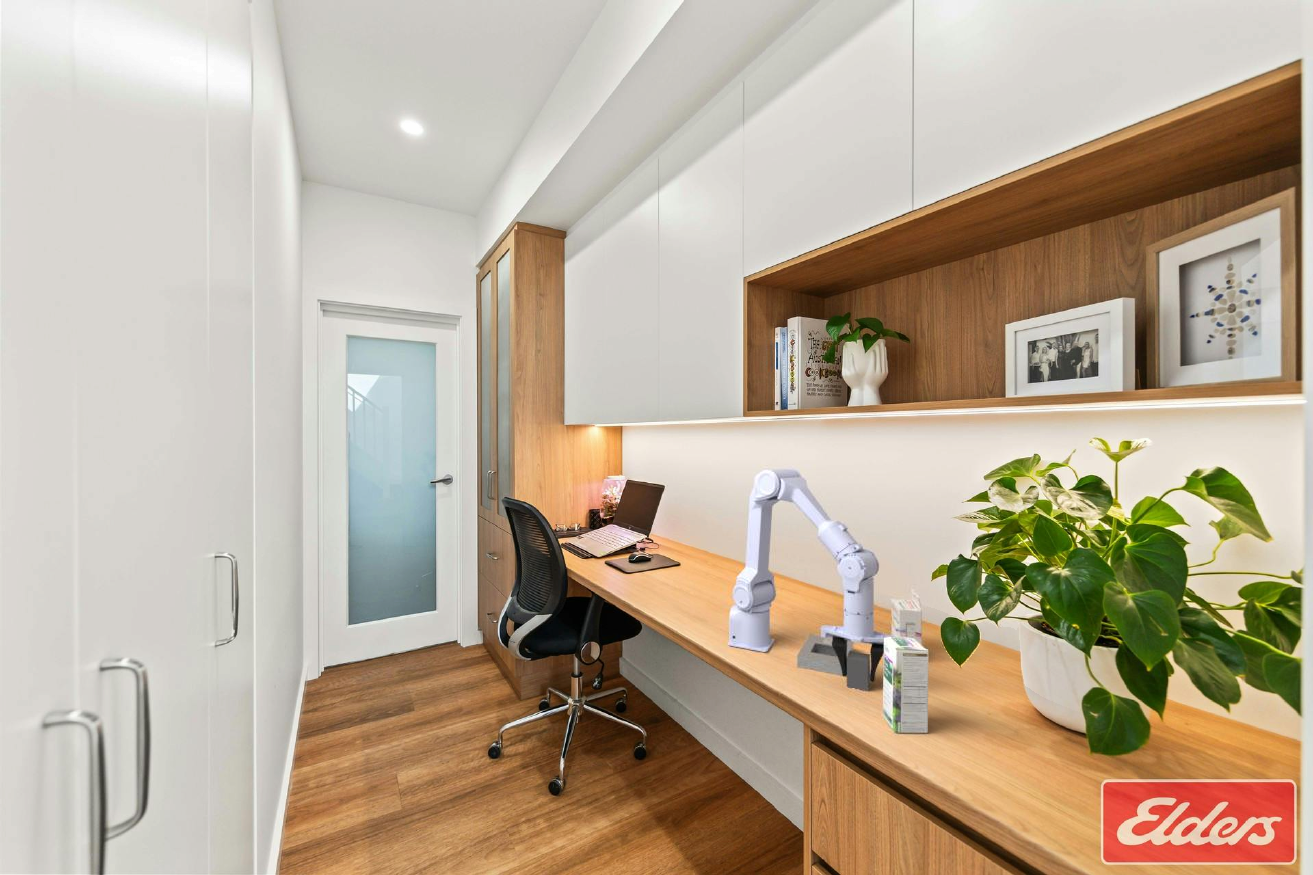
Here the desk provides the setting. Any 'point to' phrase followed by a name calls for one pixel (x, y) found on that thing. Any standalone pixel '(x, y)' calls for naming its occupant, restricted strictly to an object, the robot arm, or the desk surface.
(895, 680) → the syrup box
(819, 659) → the socket plate
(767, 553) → the robot arm
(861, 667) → the plug
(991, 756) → the desk surface
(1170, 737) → the desk surface
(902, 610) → the ink cartridge box
